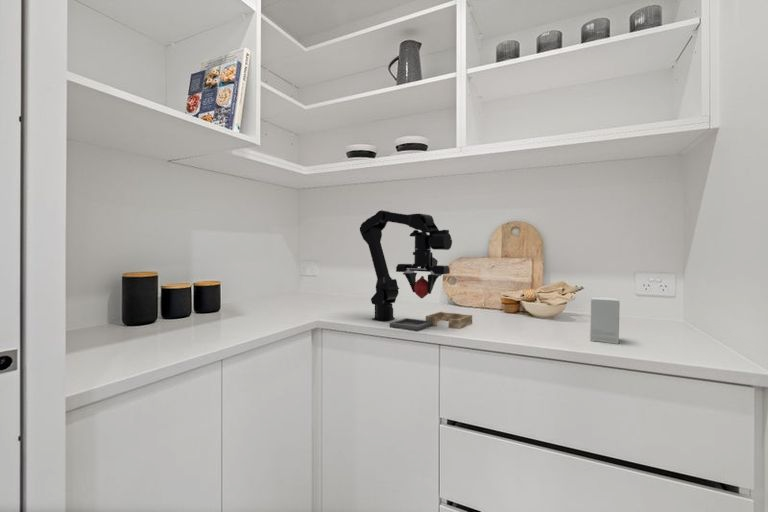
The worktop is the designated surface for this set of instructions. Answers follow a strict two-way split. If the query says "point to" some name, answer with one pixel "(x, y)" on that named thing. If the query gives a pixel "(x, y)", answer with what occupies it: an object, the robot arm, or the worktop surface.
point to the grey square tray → (411, 324)
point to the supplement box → (604, 320)
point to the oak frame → (451, 319)
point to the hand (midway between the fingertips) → (421, 293)
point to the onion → (421, 287)
